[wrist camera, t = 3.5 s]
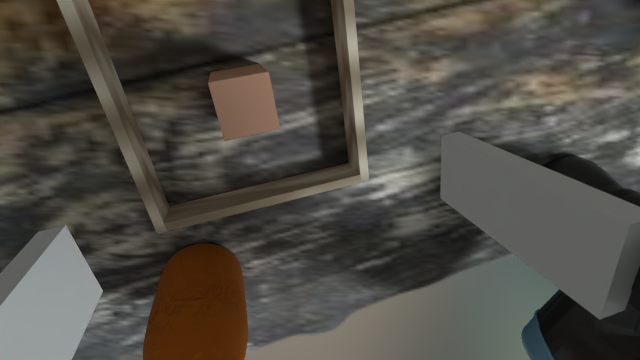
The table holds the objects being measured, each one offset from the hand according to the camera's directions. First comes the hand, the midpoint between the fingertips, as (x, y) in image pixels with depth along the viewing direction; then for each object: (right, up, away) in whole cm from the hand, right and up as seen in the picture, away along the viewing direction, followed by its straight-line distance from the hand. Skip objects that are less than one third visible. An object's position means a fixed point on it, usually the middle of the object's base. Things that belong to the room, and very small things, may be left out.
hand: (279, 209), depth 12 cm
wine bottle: (-14, -11, +31) cm, 36 cm away
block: (-7, +10, +24) cm, 27 cm away
